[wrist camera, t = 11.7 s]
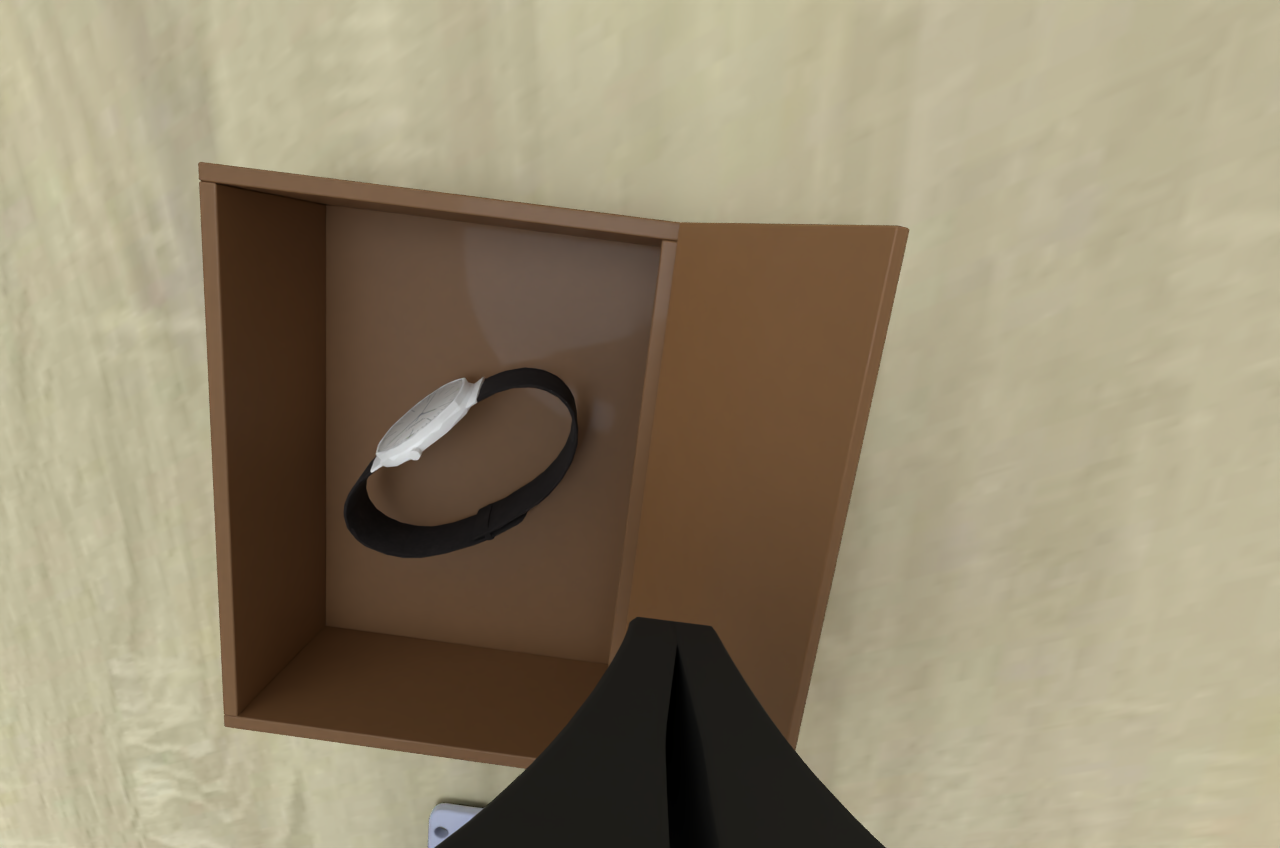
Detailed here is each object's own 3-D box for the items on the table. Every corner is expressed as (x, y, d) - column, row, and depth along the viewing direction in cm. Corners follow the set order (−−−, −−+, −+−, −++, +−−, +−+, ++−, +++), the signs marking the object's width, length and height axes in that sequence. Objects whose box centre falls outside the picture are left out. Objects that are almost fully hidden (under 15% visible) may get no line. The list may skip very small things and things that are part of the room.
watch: (534, 323, 19) (503, 335, 15) (621, 448, 20) (609, 487, 16) (342, 454, 20) (273, 493, 17) (431, 567, 21) (382, 627, 17)
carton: (678, 235, 18) (682, 222, 14) (621, 668, 22) (608, 780, 17) (320, 190, 19) (196, 161, 14) (321, 627, 22) (223, 727, 17)
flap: (679, 222, 13) (690, 224, 13) (602, 800, 16) (612, 795, 17) (897, 224, 9) (910, 227, 9) (731, 1001, 12) (742, 994, 12)
